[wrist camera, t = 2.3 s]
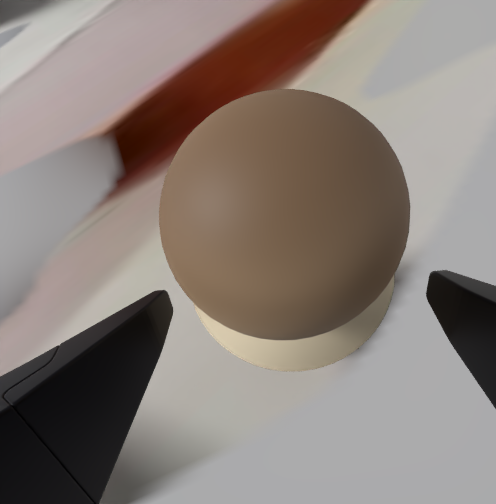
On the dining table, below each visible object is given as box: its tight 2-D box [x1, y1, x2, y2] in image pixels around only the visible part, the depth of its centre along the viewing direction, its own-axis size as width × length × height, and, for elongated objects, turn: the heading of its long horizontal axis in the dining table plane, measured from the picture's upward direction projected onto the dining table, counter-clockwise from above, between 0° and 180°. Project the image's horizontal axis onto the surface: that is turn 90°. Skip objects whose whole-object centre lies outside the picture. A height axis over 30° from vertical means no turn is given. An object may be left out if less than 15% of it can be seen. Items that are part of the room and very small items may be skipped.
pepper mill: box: [159, 89, 410, 371], centre depth 9 cm, size 5×5×15 cm
